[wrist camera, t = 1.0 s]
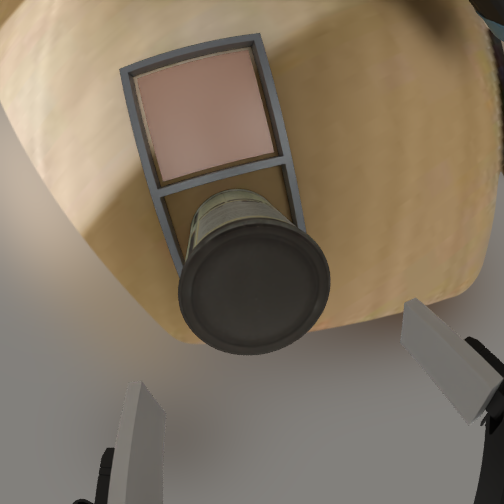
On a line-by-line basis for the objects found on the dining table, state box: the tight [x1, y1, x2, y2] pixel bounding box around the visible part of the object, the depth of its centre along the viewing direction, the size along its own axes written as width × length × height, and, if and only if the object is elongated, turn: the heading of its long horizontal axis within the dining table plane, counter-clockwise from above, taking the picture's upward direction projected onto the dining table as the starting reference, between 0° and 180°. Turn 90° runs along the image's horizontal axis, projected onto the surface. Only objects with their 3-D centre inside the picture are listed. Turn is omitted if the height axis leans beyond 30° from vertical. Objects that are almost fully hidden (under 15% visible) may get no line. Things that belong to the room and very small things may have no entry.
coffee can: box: [178, 189, 330, 355], centre depth 25 cm, size 10×10×14 cm
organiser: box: [119, 33, 306, 278], centre depth 27 cm, size 15×28×2 cm, turn 14°
